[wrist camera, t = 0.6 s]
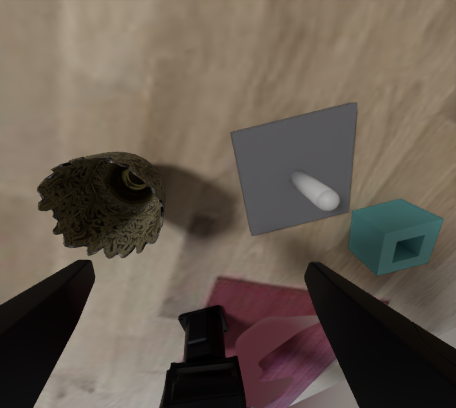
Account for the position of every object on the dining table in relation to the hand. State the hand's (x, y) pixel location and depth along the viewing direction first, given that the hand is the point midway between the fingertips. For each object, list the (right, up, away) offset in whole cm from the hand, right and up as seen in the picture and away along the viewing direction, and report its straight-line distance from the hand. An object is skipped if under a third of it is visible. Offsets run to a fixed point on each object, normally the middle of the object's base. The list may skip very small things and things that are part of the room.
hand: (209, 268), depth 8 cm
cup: (-8, +6, +12) cm, 15 cm away
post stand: (+8, +6, +14) cm, 17 cm away
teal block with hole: (+20, 0, +18) cm, 27 cm away
